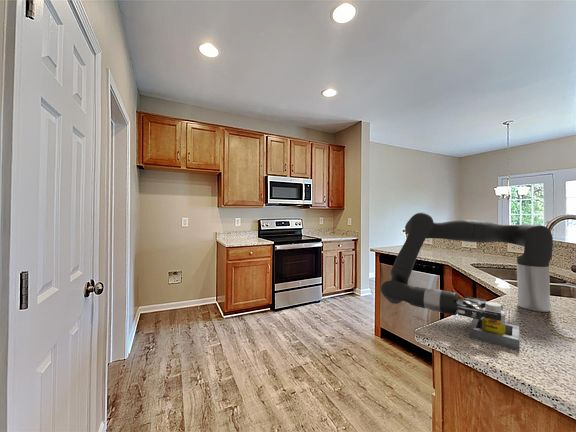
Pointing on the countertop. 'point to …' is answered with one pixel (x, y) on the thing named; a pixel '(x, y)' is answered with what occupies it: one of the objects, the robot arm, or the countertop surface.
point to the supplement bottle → (491, 323)
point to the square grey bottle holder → (495, 335)
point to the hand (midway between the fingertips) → (501, 312)
